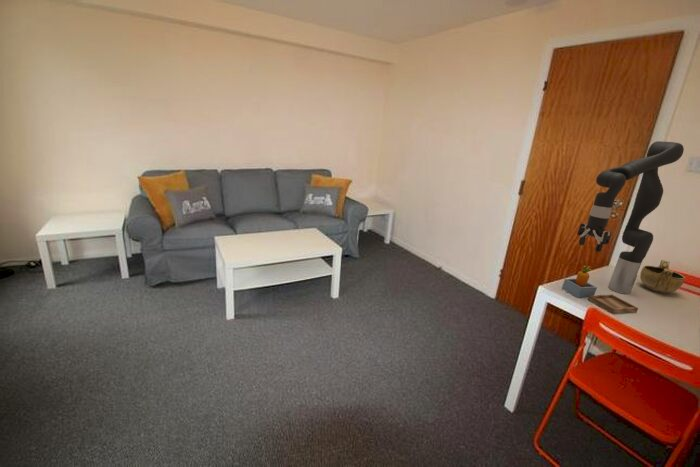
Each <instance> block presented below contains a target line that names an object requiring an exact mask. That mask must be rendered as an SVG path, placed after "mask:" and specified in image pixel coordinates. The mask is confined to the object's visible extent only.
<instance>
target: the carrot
mask: <svg viewBox="0 0 700 467" xmlns="http://www.w3.org/2000/svg"><path fill="white" fill-rule="evenodd" d="M590 267H591V266H590V265H588V266H586V265H582V270H581V271H578V272H577V274H576V278H575V279H576V283H575V284H577V285H578V286H580V287H585V285H586V284H587V282H588V281H589V279H590V274H589V273H588V272H589V271H592V269H591V268H590Z"/></svg>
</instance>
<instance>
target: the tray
mask: <svg viewBox="0 0 700 467" xmlns="http://www.w3.org/2000/svg"><path fill="white" fill-rule="evenodd" d="M587 301H588V302H591V303H592V304H594V305H596V306H598V307H599V308H601V309H602V310H605V311H607V313H610V314H611V315H617V314H637V312H638V309H639V307H637V306H635V305H634V304H631V303H629V302H627V301H626V300H623V299H621V298H619V297H617V296H616V295H614V294H597V295H596V294H595V295H590V296H589V297H588V298H587Z"/></svg>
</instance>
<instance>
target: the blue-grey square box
mask: <svg viewBox="0 0 700 467" xmlns="http://www.w3.org/2000/svg"><path fill="white" fill-rule="evenodd" d="M575 283H576V278H564V280H563V283H562V287H561V290H563V291H565V292H567V293H569V294H571V295H572V296H573V297H574V298H577V299H588V297H589V296H590V295H596V291H597V289H598V287H597V286H595V285H593V284H591V283H590V282H588V281H587V284H586V285H585V287H580V286H578V285H577V284H575Z"/></svg>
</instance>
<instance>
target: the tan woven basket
mask: <svg viewBox="0 0 700 467" xmlns="http://www.w3.org/2000/svg"><path fill="white" fill-rule="evenodd" d="M639 276H640V281H641V283H642V284H643V285H644V286H645V287H646V288H648V289H650V290H651V291H654V292H657V293H661V294H670V293H674V292H676V291H678V290H679V289H681V287H682V286H683V284H684V281H685V279H686V278H685V276H684V275H682V274H681V273H679V272H676V271H674V270H673V269H670V261H668V260H665V259H664V260H663V259H661V260H660V264H659V265H658V266H654V265H643V267H642V269H641V271H640V274H639Z"/></svg>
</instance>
